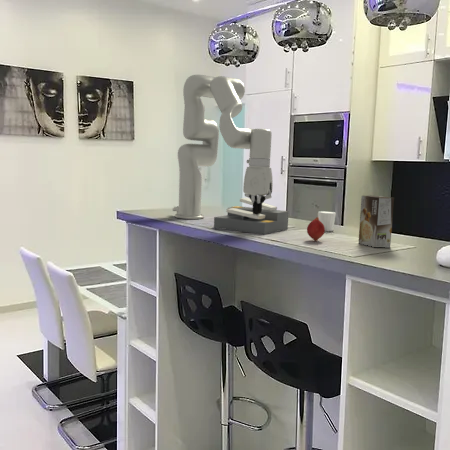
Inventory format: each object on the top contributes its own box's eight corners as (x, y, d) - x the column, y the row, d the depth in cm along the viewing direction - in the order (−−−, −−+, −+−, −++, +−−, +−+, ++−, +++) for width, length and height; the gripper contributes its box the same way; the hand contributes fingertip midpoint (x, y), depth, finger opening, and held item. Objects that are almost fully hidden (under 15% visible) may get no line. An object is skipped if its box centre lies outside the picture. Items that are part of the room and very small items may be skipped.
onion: (304, 241, 168) (306, 217, 167) (308, 238, 174) (309, 215, 172) (322, 242, 166) (324, 218, 165) (325, 240, 172) (326, 216, 170)
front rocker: (226, 211, 190) (226, 208, 190) (233, 211, 194) (233, 208, 194) (258, 219, 183) (258, 216, 182) (264, 218, 187) (265, 215, 187)
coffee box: (391, 247, 162) (395, 197, 160) (375, 248, 159) (379, 197, 157) (372, 242, 170) (376, 195, 168) (357, 243, 168) (360, 195, 166)
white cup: (333, 229, 200) (334, 211, 199) (335, 231, 194) (337, 213, 193) (316, 228, 201) (317, 210, 200) (317, 230, 194) (318, 212, 193)
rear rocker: (239, 201, 197) (240, 198, 197) (246, 200, 201) (246, 197, 201) (270, 210, 190) (271, 207, 190) (276, 209, 194) (277, 206, 194)
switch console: (213, 227, 192) (214, 205, 190) (239, 223, 206) (240, 203, 205) (264, 234, 179) (265, 211, 178) (287, 229, 194) (288, 208, 193)
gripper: (236, 162, 184) (234, 212, 187) (272, 164, 176) (269, 216, 179) (247, 162, 190) (245, 211, 193) (282, 164, 182) (279, 215, 185)
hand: (256, 213), depth 186 cm, fingers closed
